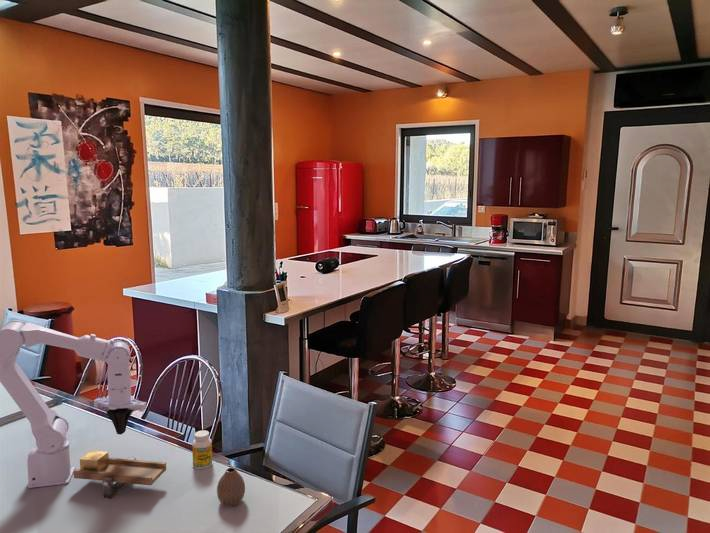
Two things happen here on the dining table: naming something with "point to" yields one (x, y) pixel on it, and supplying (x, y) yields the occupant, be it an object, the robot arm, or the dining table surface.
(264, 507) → the dining table surface
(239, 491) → the vase
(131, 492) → the dining table surface
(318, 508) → the dining table surface
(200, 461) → the supplement bottle
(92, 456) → the block
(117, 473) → the beam
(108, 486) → the stand
